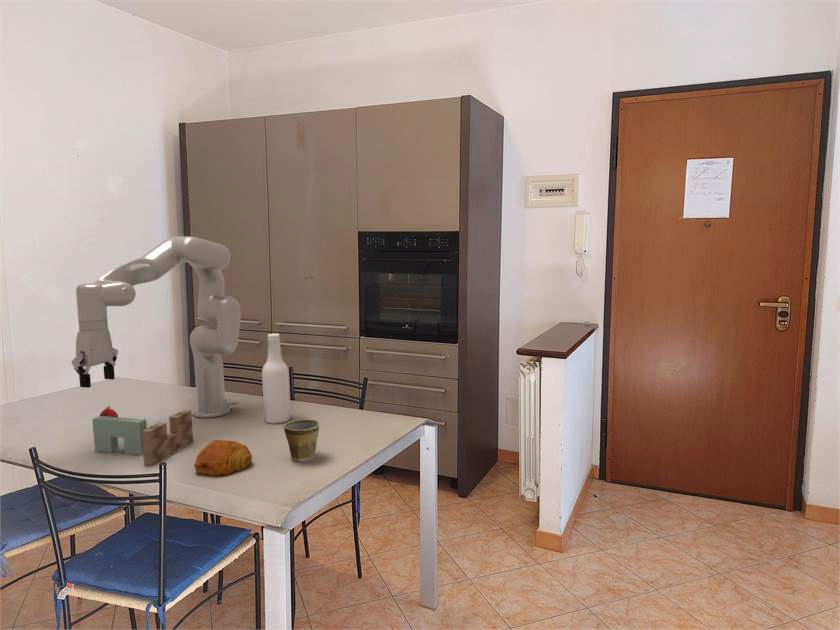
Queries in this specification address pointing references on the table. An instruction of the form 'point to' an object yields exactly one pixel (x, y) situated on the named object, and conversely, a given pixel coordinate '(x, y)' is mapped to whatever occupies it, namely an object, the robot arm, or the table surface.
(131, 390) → the table surface
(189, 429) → the walnut slotted plate
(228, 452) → the croissant
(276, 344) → the alcohol
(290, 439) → the ceramic cup
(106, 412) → the onion
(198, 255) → the robot arm
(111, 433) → the green slotted plate
